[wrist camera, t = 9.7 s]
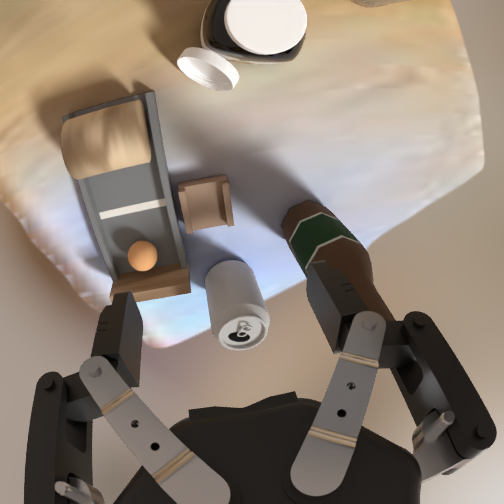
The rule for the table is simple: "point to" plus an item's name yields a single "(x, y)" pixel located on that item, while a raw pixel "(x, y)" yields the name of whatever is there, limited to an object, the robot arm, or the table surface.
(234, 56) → the spread jar
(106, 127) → the log
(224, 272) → the can
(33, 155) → the table surface
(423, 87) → the table surface
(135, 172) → the lane
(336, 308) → the robot arm
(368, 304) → the beer bottle
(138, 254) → the ball
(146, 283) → the backstop
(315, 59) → the table surface
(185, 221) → the tee
